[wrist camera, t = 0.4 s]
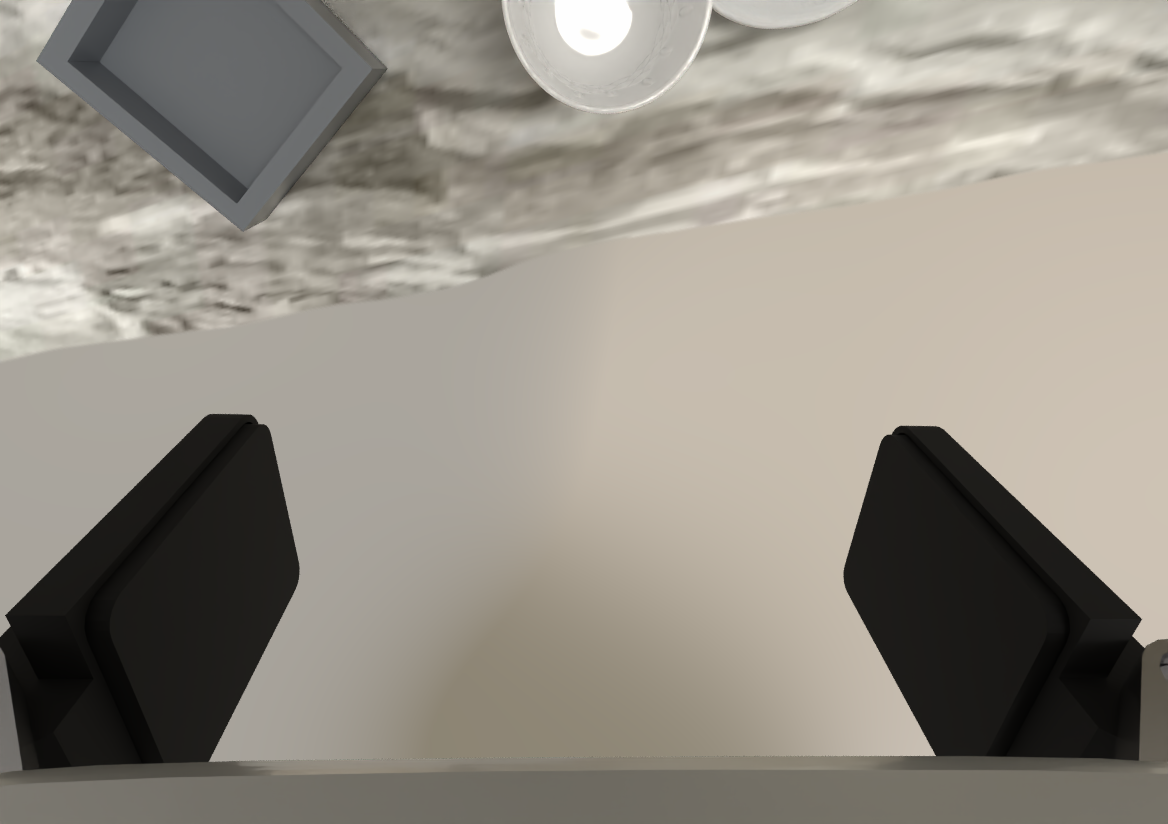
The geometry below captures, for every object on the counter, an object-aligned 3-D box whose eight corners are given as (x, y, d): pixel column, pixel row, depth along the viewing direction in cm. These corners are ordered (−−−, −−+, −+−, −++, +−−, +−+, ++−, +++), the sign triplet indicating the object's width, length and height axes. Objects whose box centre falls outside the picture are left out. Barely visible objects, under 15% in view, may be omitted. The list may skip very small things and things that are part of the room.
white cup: (498, 75, 34) (479, 77, 25) (536, -105, 31) (531, -178, 22) (641, 122, 35) (671, 139, 26) (692, -46, 32) (747, -91, 23)
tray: (194, -128, 30) (159, -147, 27) (387, 68, 34) (372, 68, 31) (78, 61, 33) (36, 60, 31) (265, 219, 37) (242, 231, 34)
